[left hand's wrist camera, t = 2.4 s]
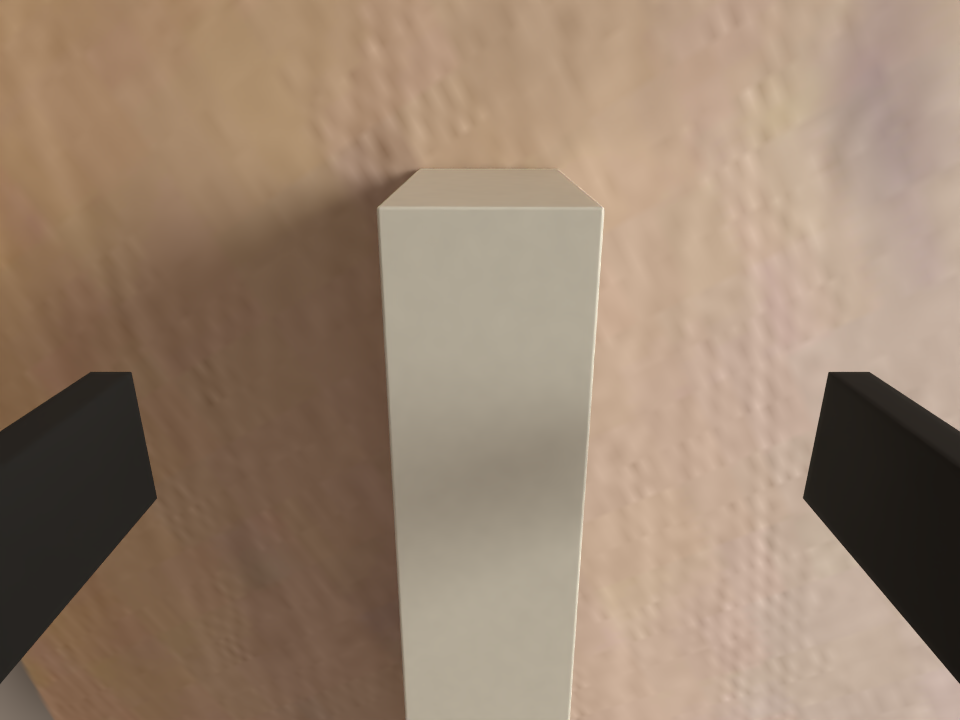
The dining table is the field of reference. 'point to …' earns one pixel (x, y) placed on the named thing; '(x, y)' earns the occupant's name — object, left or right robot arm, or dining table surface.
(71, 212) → the dining table surface
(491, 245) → the bar
